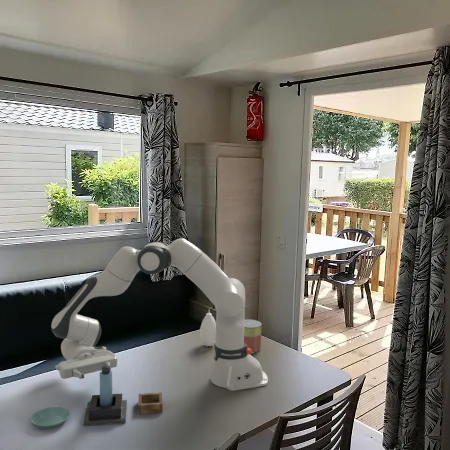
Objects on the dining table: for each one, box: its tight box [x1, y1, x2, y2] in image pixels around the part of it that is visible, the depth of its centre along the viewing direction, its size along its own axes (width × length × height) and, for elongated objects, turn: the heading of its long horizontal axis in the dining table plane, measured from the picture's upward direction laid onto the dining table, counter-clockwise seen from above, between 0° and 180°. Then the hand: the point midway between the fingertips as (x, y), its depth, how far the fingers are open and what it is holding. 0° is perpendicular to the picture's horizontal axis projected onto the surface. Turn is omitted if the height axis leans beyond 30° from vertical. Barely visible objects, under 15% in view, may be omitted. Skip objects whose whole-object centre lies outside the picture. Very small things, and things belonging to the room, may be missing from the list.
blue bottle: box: [99, 365, 113, 407], centre depth 151 cm, size 4×4×15 cm
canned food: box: [244, 318, 263, 353], centre depth 211 cm, size 11×11×12 cm
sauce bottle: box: [199, 308, 216, 347], centre depth 212 cm, size 8×8×18 cm
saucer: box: [30, 406, 71, 429], centre depth 147 cm, size 12×12×2 cm
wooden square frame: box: [137, 392, 164, 415], centre depth 157 cm, size 8×8×3 cm
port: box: [83, 393, 128, 427], centre depth 152 cm, size 13×12×4 cm
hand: (95, 373), depth 158 cm, fingers open, 8 cm apart
